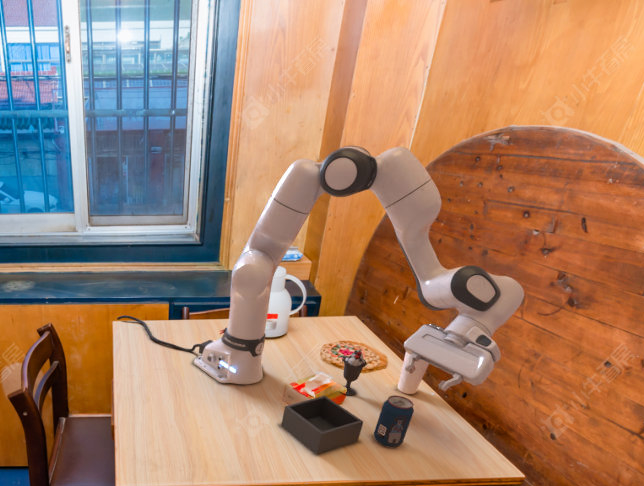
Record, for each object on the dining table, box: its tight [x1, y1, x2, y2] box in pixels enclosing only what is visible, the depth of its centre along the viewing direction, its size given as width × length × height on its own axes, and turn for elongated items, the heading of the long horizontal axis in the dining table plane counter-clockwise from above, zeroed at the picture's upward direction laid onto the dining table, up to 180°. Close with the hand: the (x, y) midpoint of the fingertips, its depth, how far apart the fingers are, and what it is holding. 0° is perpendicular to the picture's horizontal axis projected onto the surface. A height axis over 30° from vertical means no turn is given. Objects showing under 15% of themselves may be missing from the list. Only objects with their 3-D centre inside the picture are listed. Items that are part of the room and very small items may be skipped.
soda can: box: [373, 395, 415, 448], centre depth 128 cm, size 7×7×12 cm
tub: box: [280, 395, 364, 455], centre depth 132 cm, size 14×14×6 cm
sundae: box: [341, 348, 368, 396], centre depth 148 cm, size 7×7×15 cm
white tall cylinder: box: [397, 351, 430, 395], centre depth 150 cm, size 7×7×15 cm
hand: (423, 379), depth 124 cm, fingers open, 8 cm apart
